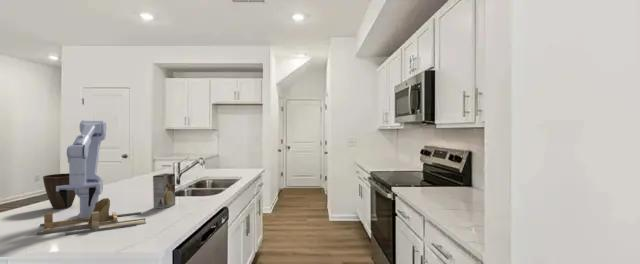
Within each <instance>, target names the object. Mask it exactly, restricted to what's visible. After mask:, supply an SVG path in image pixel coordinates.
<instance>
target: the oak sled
mask: <svg viewBox="0 0 640 264" xmlns="http://www.w3.org/2000/svg"><path fill="white" fill-rule="evenodd" d="M116 212H117V211H114V212H111V213H112V214H109V219H112V220H109V219H108V220H106V221H104V222H99V224H105V223H112V222H119V221H118V217H117V215H118V214H117V213H116ZM53 214H54V213H53V211H49V212H48V211H47V212H44V214H43V221H44V222H43V224H44V226H43V227H44V229H42V232H43V231H51V230H58V229H66V228H74V227H81V226H89V225H92V223H91V224H88V223H85V222H89V220H90V217H88V218H76V219H68V220H60V221H59V220H58V221H53V219H54V218H53V217H54V215H53ZM83 222H84V223H85V224H77V225H69V226H62V225H68V224H76V223H83ZM54 226H61V227H54Z"/></svg>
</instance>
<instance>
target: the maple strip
mask: <svg viewBox="0 0 640 264" xmlns="http://www.w3.org/2000/svg"><path fill="white" fill-rule="evenodd" d="M133 223H137V225H143V224H144V225H145V224H146V223H147V222H146V219H145V220H139V221H131V222H123V223H116V224H108V225H100V226H99V211H98V212H92V228H91V229H96V228H103V227H111V226H118V225H126V224H133Z"/></svg>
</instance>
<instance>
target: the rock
mask: <svg viewBox="0 0 640 264" xmlns="http://www.w3.org/2000/svg"><path fill="white" fill-rule="evenodd" d="M110 206H111V200H110V198H108V197H106V198H105V197H104V198H101V199H99V202H97V203H96V204H95V208H94V211H93V212H98V211H99V222H107V221H109V215H110V212H109V211H110ZM89 218H90V220H89V221H87V222H88V223H87V224H91V223H92V214H91V216H90V217H89Z"/></svg>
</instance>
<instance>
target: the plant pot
mask: <svg viewBox="0 0 640 264" xmlns="http://www.w3.org/2000/svg"><path fill="white" fill-rule="evenodd" d="M42 179H43V184H44V190H45V192H46V195H47V198H48V201H49V203H50V205H51V207H52V209H54V210H61V209H62V210H63V209H66V207H65V203H64V201H63V199H62V197H61V195H60V193H59V191H57V192H56V186H62V185H70V184H69V172H68V173H67V172H65V173H56V174H55V173H54V174H47V175H43V176H42ZM72 189H73V188H72ZM76 196H77V195H76V194H75V190H67V201H68V209H69V208H72V207H73V203H74V201H75V198H76Z"/></svg>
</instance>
